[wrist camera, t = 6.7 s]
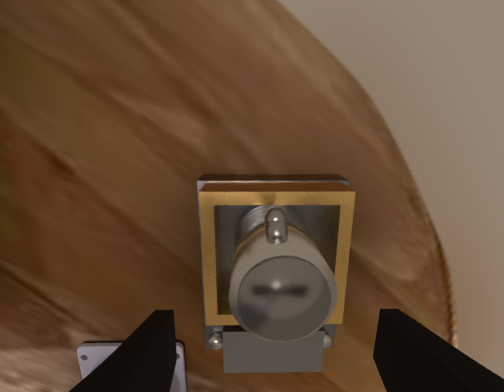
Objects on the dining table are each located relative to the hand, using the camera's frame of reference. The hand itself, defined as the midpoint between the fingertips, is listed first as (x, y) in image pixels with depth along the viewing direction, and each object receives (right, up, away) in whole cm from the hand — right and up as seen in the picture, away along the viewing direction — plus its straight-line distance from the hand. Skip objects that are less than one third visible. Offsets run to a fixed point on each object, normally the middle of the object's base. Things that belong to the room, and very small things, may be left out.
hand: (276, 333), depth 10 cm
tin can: (0, +2, +8) cm, 8 cm away
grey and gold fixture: (0, 0, +10) cm, 10 cm away
